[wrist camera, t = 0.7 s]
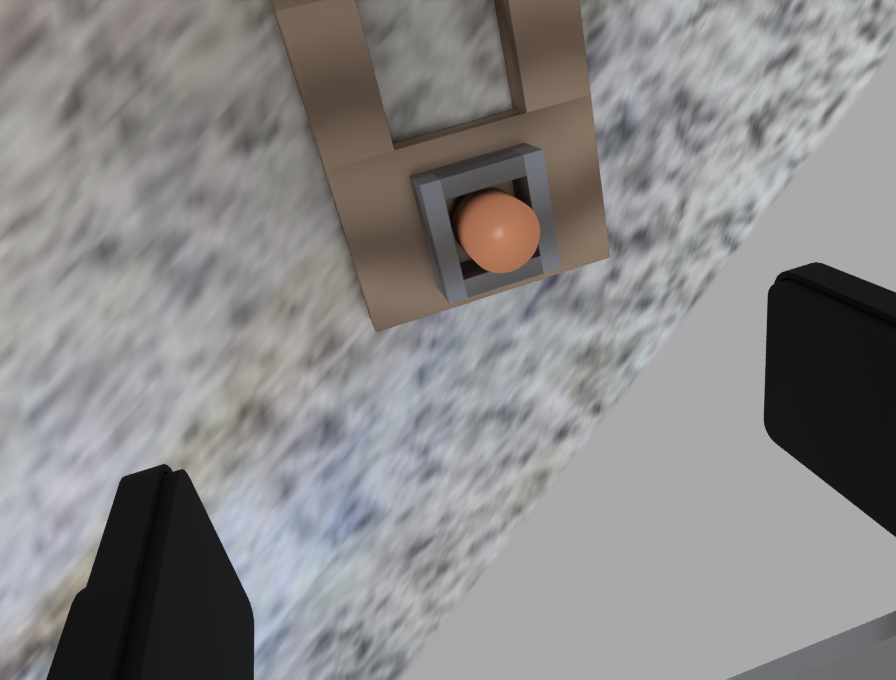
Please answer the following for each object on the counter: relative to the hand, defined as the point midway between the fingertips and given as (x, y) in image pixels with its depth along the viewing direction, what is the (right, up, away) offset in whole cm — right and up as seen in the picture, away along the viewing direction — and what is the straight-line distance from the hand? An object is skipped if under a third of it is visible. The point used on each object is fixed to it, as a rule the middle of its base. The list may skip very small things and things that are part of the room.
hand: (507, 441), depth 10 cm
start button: (+1, +8, +23) cm, 24 cm away
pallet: (-1, +13, +24) cm, 27 cm away
